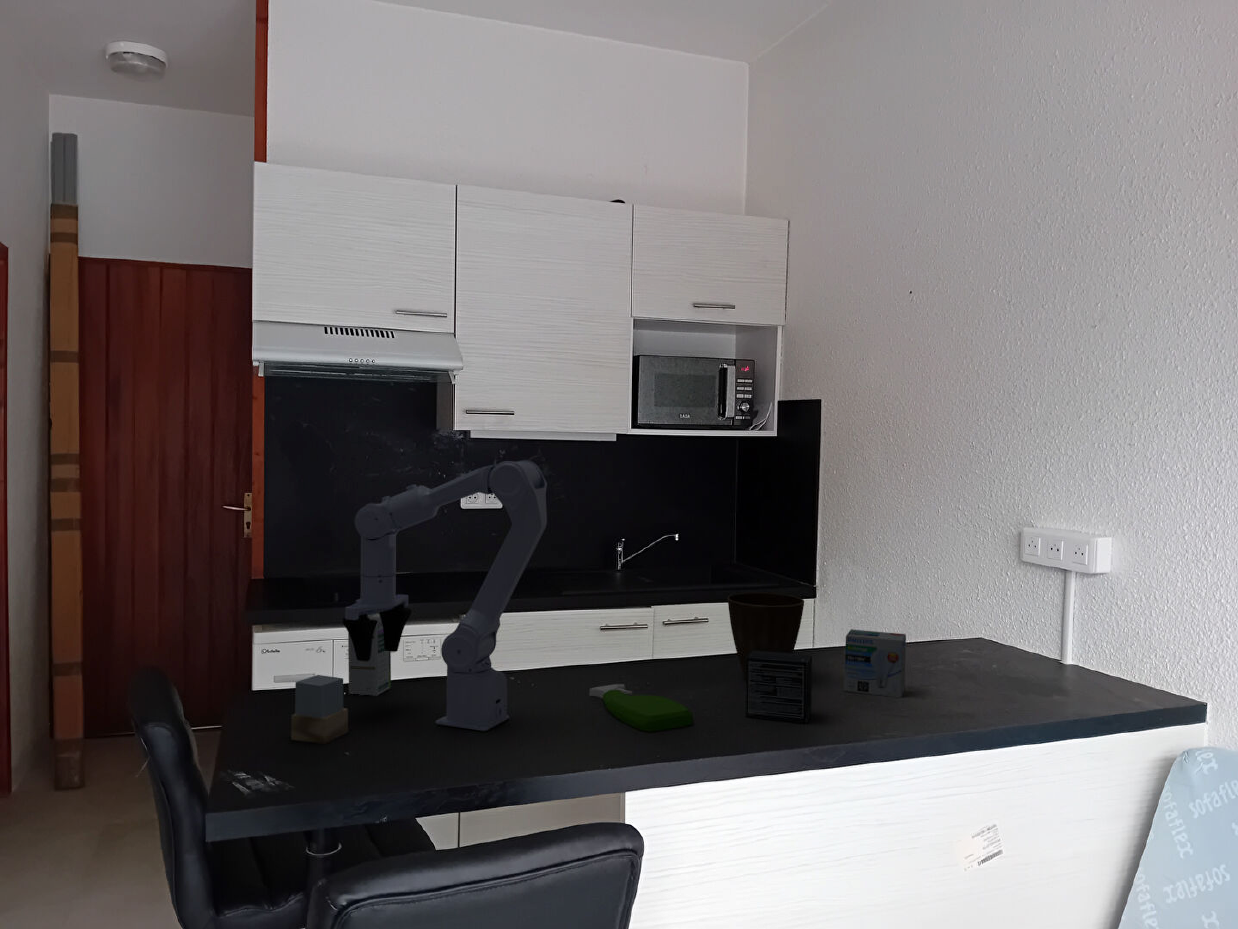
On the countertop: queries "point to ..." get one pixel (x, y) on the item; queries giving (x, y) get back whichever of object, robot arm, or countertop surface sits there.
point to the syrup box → (370, 665)
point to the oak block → (319, 727)
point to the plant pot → (764, 623)
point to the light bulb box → (875, 663)
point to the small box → (778, 686)
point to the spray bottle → (643, 709)
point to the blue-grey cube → (319, 696)
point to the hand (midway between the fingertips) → (377, 655)
